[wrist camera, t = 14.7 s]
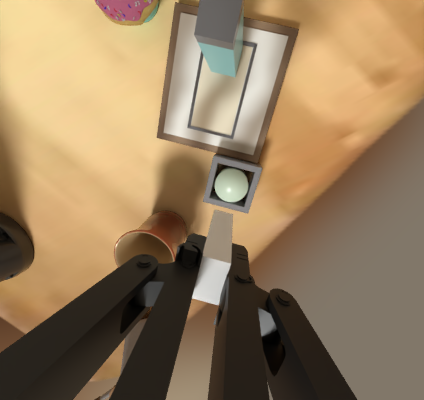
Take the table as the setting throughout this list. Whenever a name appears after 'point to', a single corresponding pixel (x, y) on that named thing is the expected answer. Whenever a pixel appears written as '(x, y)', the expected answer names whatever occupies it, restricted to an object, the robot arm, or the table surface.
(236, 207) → the button frame
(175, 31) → the picture frame
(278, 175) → the table surface
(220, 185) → the button
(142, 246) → the mug
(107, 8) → the donut
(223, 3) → the grey and mint block
